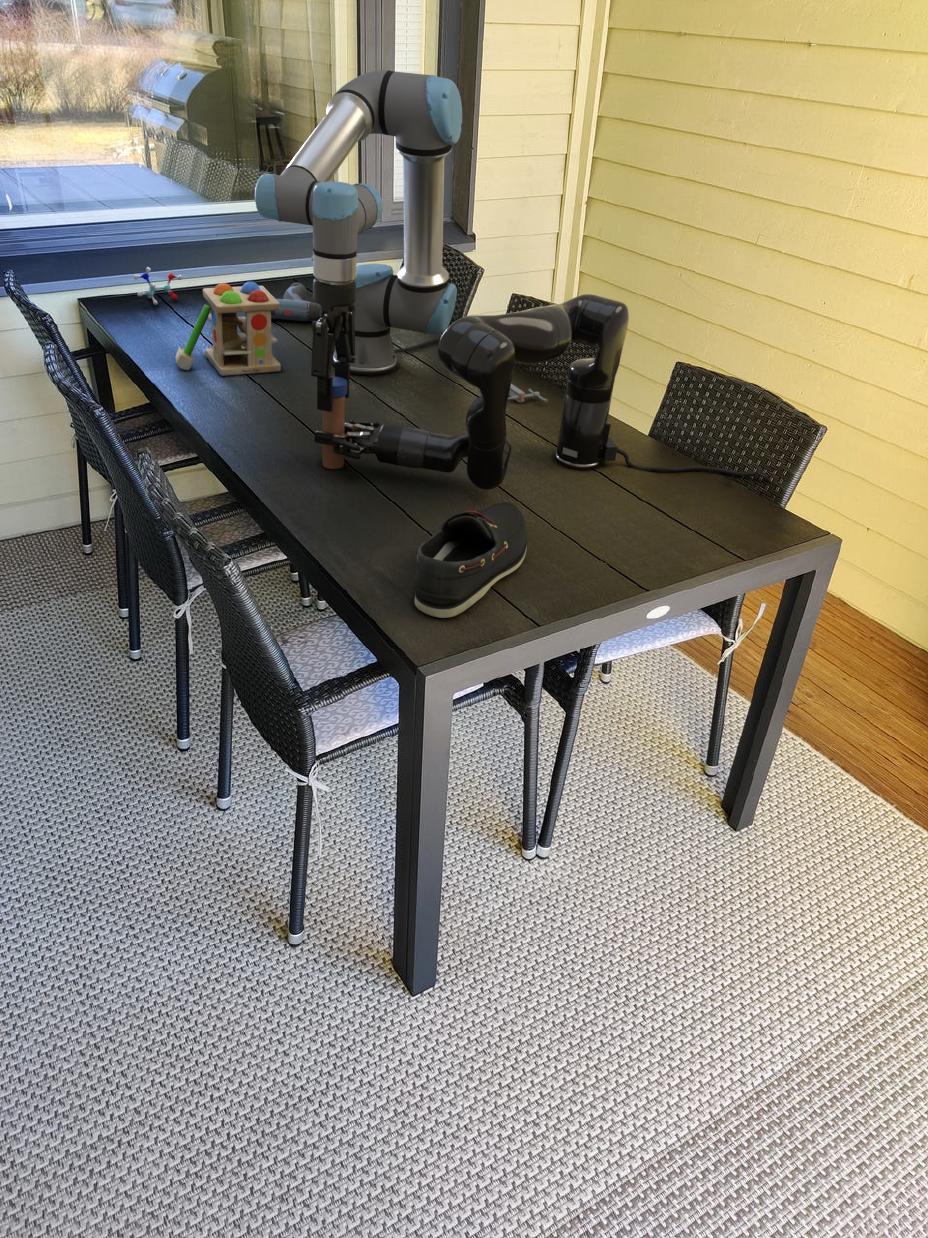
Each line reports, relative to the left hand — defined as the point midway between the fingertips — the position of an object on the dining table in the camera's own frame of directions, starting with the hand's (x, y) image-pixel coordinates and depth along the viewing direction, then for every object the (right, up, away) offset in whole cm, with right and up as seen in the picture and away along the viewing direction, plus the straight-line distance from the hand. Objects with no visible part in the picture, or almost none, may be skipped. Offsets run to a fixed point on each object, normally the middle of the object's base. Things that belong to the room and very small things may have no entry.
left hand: (333, 402), depth 185 cm
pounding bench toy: (-31, +19, +46) cm, 59 cm away
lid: (0, +3, -2) cm, 4 cm away
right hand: (-3, -5, +4) cm, 7 cm away
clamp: (+36, +11, +44) cm, 58 cm away
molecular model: (-59, +46, +81) cm, 110 cm away
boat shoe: (+26, -33, -21) cm, 47 cm away
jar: (-1, -10, +7) cm, 13 cm away
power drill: (-18, +43, +82) cm, 94 cm away
